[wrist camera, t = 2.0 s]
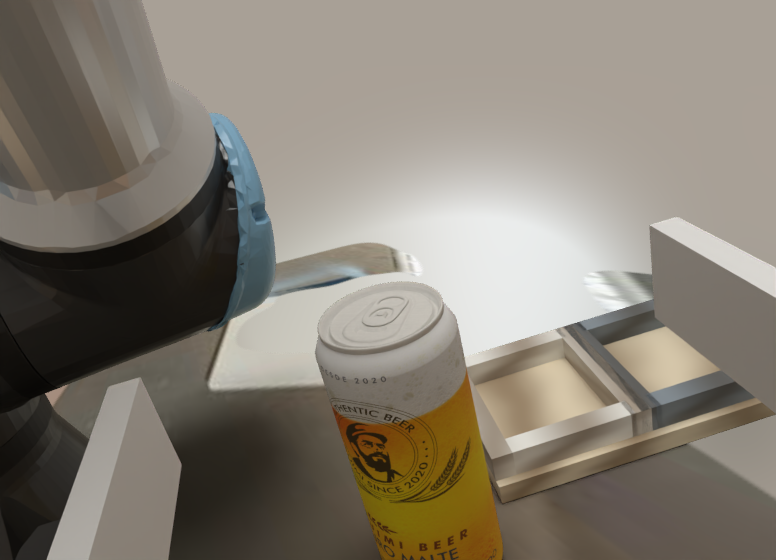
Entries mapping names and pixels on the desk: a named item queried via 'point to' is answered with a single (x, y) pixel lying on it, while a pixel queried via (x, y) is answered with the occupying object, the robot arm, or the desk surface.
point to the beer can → (409, 422)
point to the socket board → (596, 400)
